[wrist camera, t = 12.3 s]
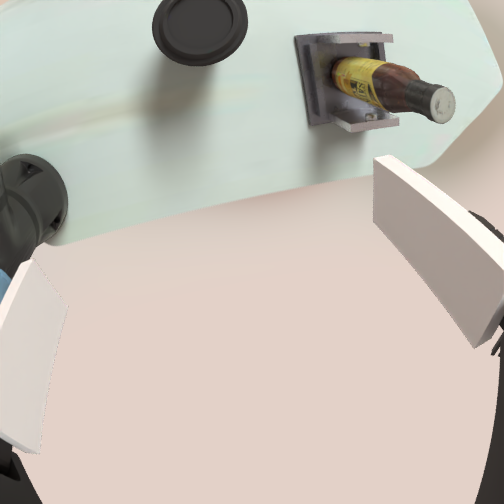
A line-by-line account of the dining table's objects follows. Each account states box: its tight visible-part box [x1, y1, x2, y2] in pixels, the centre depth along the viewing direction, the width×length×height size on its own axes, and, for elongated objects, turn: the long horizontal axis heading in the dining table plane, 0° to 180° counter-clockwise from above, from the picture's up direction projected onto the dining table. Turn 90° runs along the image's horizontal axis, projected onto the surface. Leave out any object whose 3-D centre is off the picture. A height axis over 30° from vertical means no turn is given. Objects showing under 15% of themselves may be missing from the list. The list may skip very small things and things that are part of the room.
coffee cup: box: [152, 0, 248, 66], centre depth 27 cm, size 9×9×15 cm
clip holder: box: [295, 32, 399, 133], centre depth 36 cm, size 14×14×8 cm
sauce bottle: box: [332, 56, 456, 124], centre depth 31 cm, size 6×6×20 cm
